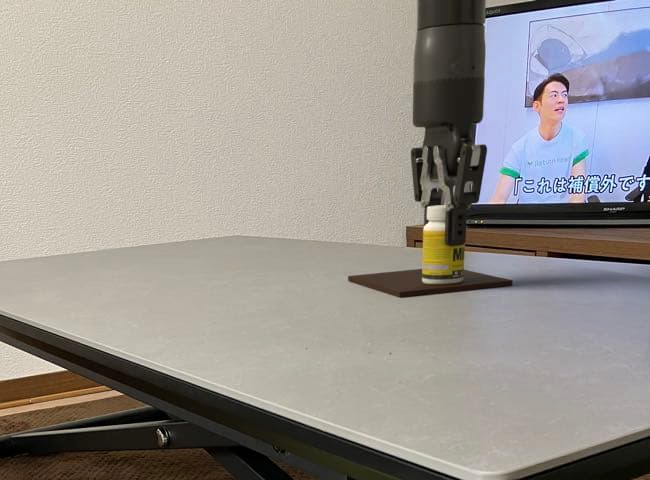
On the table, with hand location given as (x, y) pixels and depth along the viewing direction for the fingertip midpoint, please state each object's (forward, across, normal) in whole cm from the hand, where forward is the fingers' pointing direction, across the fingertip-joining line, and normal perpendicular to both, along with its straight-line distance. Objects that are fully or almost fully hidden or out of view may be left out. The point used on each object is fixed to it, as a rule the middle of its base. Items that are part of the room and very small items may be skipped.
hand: (443, 242), depth 103 cm
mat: (+5, +5, 0) cm, 7 cm away
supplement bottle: (+5, 0, 0) cm, 5 cm away
